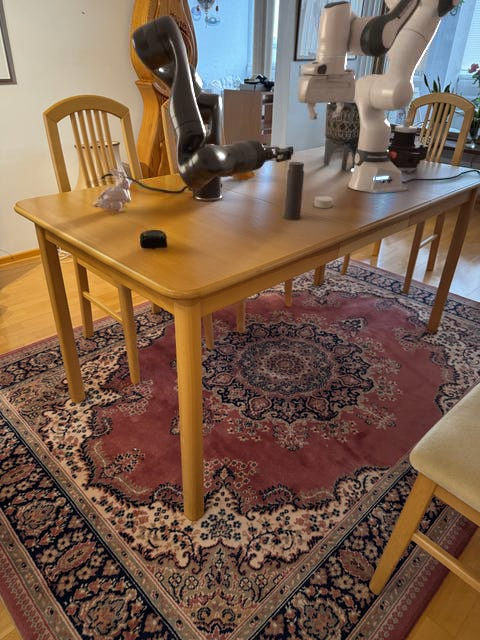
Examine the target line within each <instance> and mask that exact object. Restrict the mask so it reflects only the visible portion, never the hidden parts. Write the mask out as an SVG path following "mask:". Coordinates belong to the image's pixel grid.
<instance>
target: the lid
mask: <svg viewBox="0 0 480 640" xmlns="http://www.w3.org/2000/svg"><path fill="white" fill-rule="evenodd" d="M332 204H333V198H332V197H330V196H325V195H323V196H322V195H318V196H315V197H314V202H313V206H314V207H315V208H319V209H328V208H329V209H330V208H331V207H332Z"/></svg>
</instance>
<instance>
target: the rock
mask: <svg viewBox="0 0 480 640" xmlns="http://www.w3.org/2000/svg"><path fill="white" fill-rule="evenodd" d="M333 153H338V154H342V147H340V148H338V149H336V150H335V151H334V152H333ZM348 153H351V151H350V150H349V152H348Z"/></svg>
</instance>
